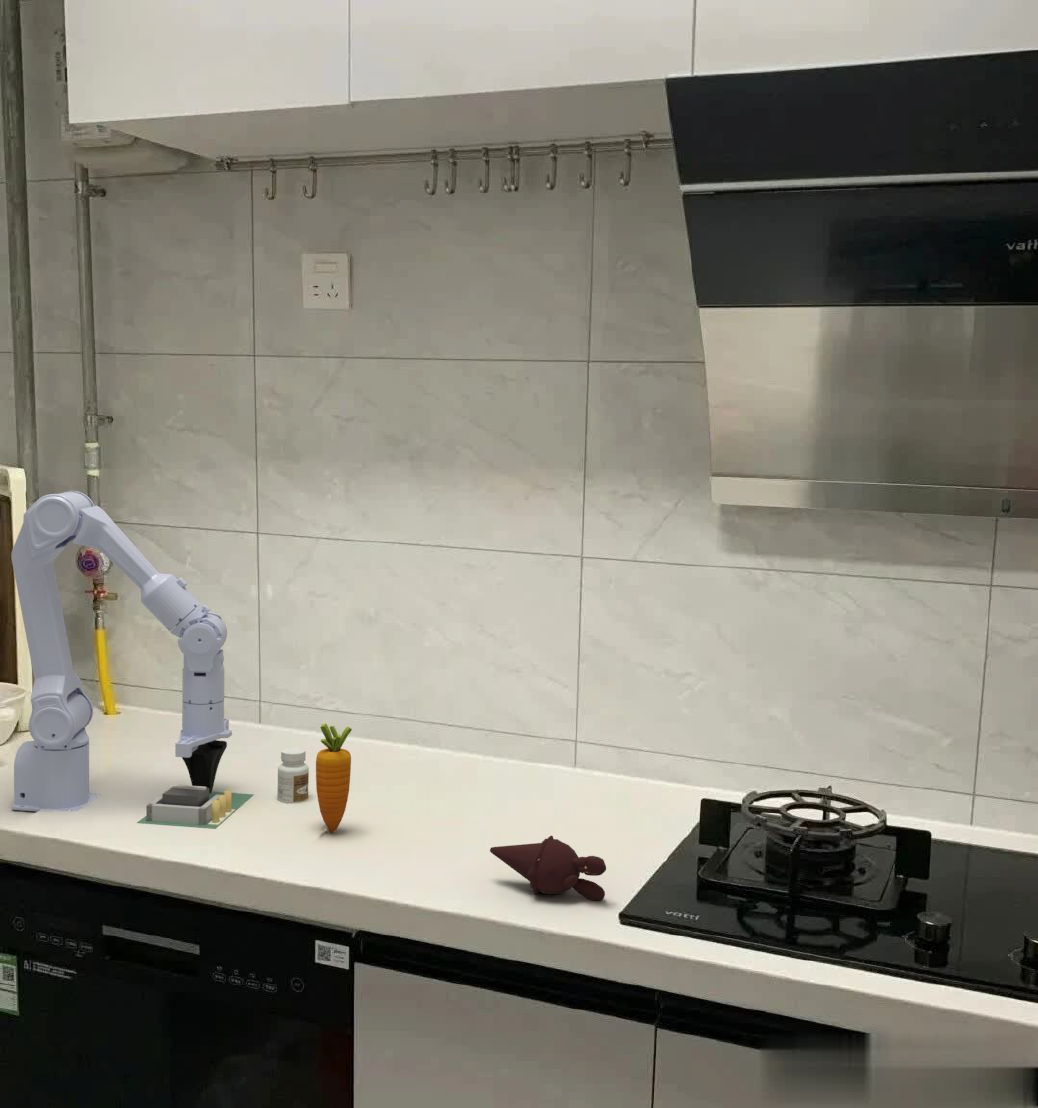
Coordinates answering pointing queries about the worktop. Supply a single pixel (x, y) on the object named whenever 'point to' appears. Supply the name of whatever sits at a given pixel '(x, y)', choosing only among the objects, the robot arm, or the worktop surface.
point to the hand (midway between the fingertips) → (202, 793)
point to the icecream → (553, 867)
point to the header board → (195, 811)
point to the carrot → (333, 777)
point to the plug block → (186, 795)
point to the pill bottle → (293, 776)
